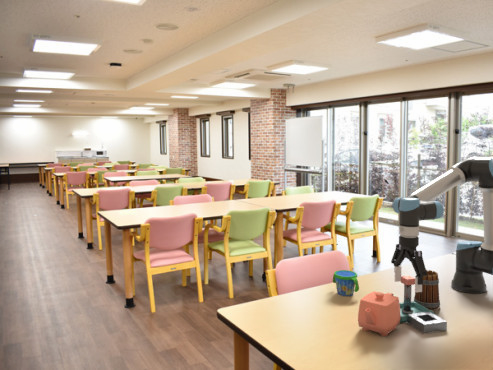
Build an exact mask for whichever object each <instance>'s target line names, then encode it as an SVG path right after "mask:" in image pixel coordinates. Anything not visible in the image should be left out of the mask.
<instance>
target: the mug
mask: <svg viewBox="0 0 493 370" xmlns="http://www.w3.org/2000/svg"><path fill="white" fill-rule="evenodd" d="M426 272H427V276H423V284H422V292H415V291H414V297H413V301H415V302H417V303H418V304H420V305H422V306H424V307H426V308H427V309H429V310H431V311H436V310H438V309H439V308H441V307H440V306H441V302H440V301H441V299H440V290H439V289H440V287H439V283H440V279H439V274H438V272H437V271H434V270H430V269H429V270H428V269H426Z"/></svg>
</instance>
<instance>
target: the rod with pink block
mask: <svg viewBox="0 0 493 370" xmlns="http://www.w3.org/2000/svg"><path fill="white" fill-rule="evenodd" d="M400 283H401V284H403V285H404V286H403V302H404V308H403V309H402V313H403V314H406V315H407V314H413V310H411V301H412V285H413V286H415V277H412V276H411V275H403V276H402V275H401V281H400Z"/></svg>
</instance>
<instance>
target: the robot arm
mask: <svg viewBox="0 0 493 370" xmlns="http://www.w3.org/2000/svg"><path fill="white" fill-rule="evenodd" d="M472 182H474V183H477V184H478V189H480V190H481V191H482V207H483V208H482V213H483V215H482V216H483V240H484V241H483V242H482V241H479V240H477V241H475V240H472V241H471V240H466V241H459V242H457V243H456V250H455V272H454V275H453V278H452V280H451V281H450V282H451V283H450V284H451V285H450V287H452V289H454V290H456V291H458V292H459V291H460V292H464V293H467V294H483V293H486V292H487V284H486V281H485V277H484V274H483V273H485V274H489V275H491V276H493V156H470V157H468V158H467V157H466V158H464V159H462V160H461V161H458V162H457V163H455V164H453V165H451V166H450V167H448V168H447V171H446V172H445V173H443V174H441V175H439V176H438V177H436V178H434V179H433V180H431V181H429V182H428V183H426V184H424V185H423V186H422V187H419V188H418V189H417V190H415V191H414V192H413V191H412V192H411V193H409V194H408V195H407V196H405V197H403V196H401V197H396V198H394V200H393V202H392V210H393V211H394V213H395V214H398V216H399V221H398V222H399V223H398V225H399V227H398V228H399V229H398V230H399V231H398V234H399V236H398V243H397V244H395V250H394V252H393V255H392V257H391V261H390V262H391V263H390V264H392V265H393V267H394V282H395V283H396V282H397V283H398V282H401V276H402V264H403V262H404V260H406V259H407V260H409V262H410V263H411V266H412V267H413V270H414V272H415V276H414V278H415V284H414V293H415V292H422V284H423V276H427V272H426V270H427V268H426V265H425V262H424V257H423V251H422V250H417V247H418V246H419V244H420V243H419V239H420V237H419V235H420V221H421V222H422V221H429V220H433V221H434V220H438V219H441V218H442V217H443V215H444V212H445V211H444V210H445V207H444V205H443V204H442V202H440V201H436V200H435V199H438V198H439V197H441V196H442V195H444V194H445V193H447V192H448V191H450V190H452V189H453V188H455V187H456V186H462V185H464V184H465V183H472Z"/></svg>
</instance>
